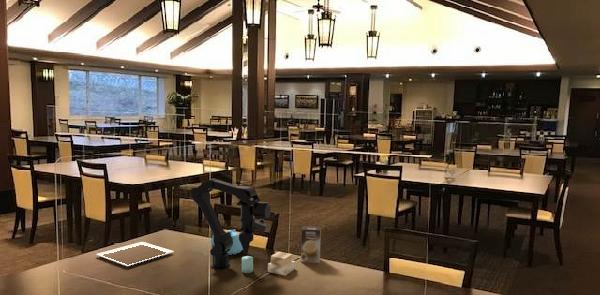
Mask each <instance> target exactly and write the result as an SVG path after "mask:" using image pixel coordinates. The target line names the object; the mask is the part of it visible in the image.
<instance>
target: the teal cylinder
mask: <svg viewBox="0 0 600 295" xmlns="http://www.w3.org/2000/svg"><path fill="white" fill-rule="evenodd" d="M253 271H254V257H253V256H251V255H250V256H249V255H246V256H242V257H241V272H242V273H243V274H250V273H253Z"/></svg>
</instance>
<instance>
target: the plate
mask: <svg viewBox="0 0 600 295" xmlns="http://www.w3.org/2000/svg"><path fill="white" fill-rule="evenodd" d="M139 245H144V246H148V247H151V248H155V249H158V250H160V251H163V252H166V253H165V254H162V255H158V256H155V257H152V258H149V259H145V260H142V261H139V262H136V263H132V264H129V265H127V264H125V263H122V262H119V261H116V260H114V259H111V258H108V257H105V256H103V255H104V254H109V253H114V252H117V251H120V250H125V249H128V248H132V247H136V246H139ZM174 252H175V251H174V250H172V249H168V248H165V247H162V246H158V245H154V244H151V243H149V242H145V241H139V242H135V243H131V244H128V245H124V246H121V247H117V248H114V249H109V250H106V251H101V252H97V253H96V254H95V255H96V256H98V257H101V258H104V259H107V260H109V261H111V262H114V263H117V264H119V265H122V266H125V267H132V266H135V265H134V264H136V265H138V264H137V263H139V264H142V263H145V262H148V261H150V260H151V259H152V260H154V258H155V259H158V258H160V256H161V257H164V256H167V255H170V254H172V253H174ZM157 257H158V258H157ZM147 260H148V261H147ZM144 261H145V262H144ZM141 262H142V263H141ZM131 265H132V266H131Z"/></svg>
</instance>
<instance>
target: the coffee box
mask: <svg viewBox="0 0 600 295" xmlns="http://www.w3.org/2000/svg"><path fill="white" fill-rule="evenodd" d="M321 233H322V228H321V226H308V225H307V226H306V225H302V227H301V248H300V250H301V251H300V263H307V264H308V263H309V264H310V263H313V264H320V262H321V236H322V234H321Z"/></svg>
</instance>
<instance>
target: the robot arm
mask: <svg viewBox="0 0 600 295" xmlns="http://www.w3.org/2000/svg"><path fill="white" fill-rule="evenodd" d="M213 190H216V191H219V192H223V193H227V194H229V195H232V196H234V197H235V198H236V199H237V200H239V201H238V202H237V203H236V205H237V206H240V227H239V228H240V232H239V233H238V235H239V241H240V243H241V245H242V247H243V249H242V250H243V251H244V254H248V253H249V248H250V244H251V242H253V241H254V238H255V237H254V235H255V231H258V232H260V233H262V234H265V231H266V229H267V226H268V225H267V223H265V220H264V219H268V218H270V216H271V213H272V209H271V206H270V203H269V202H268V201H265V202H264V201H262V200H261V199H260V197H259V196H258V194H257V191H256V189H255V188H254V187H253V186H249V185H236V184H232V183H230V182H226V181H223V180H220V179H217V178H216V177H215V178H211V179H210V178H209V179H208V180H206V181H205V182H204V183H202V184H200V185H198V186H195V187H193V188H192V189H191V190H190V196H191V199H192V200H193V202H194V203H195V204H196V205H197V206H199V207H200V209H201V212H202V213H203V215H204V217H205V220H206V222H207V224H208V227H209V229H210V230H211V232H212V236H213V235H214V238H213V242H214V245H215V246H214V245H213V247H212V248H211V249H210V250H209V252H210V255H211V256H212V265H210V267H211V268H214V269H220V270H224V269H225V268H227V267H229V266H231V264H230V262H229V259H230V258H229V255H228V253H227V252H228V251H230V248H231V247H232V246H233V238H232V237H231V234H230V232H227V231H226V230H224V228H223V226H222V224H221V222H220V220H219V218H218V216H217V213H216V212H215V209H214V207H213V205H212V203H211V193H210V192H212V191H213ZM256 218H260V219H259V220H256Z"/></svg>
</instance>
